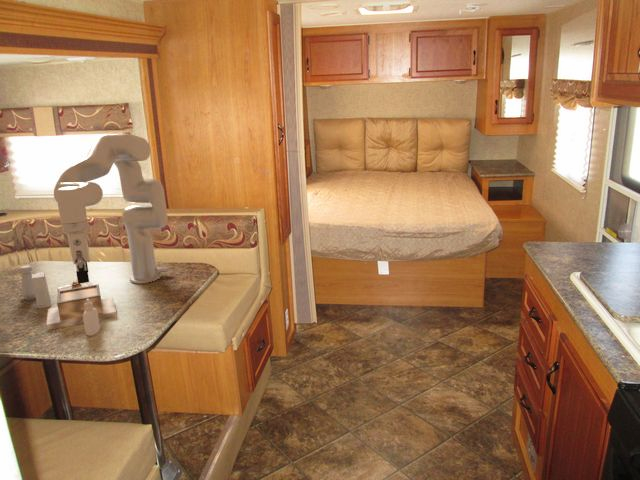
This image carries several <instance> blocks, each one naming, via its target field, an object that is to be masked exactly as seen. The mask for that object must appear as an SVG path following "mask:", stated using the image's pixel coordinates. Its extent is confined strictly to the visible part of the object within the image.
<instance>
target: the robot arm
mask: <svg viewBox="0 0 640 480" xmlns="http://www.w3.org/2000/svg"><path fill="white" fill-rule="evenodd" d="M150 155H151V146H150V144H149V142H148V141H147V139H145V138H144V137H141V136H138V135H134V134H131V133H104V134H100V135H99V136H98V137H97V138H96V140H95V141H94V143H93V145H91V148H90V150H89V152H88V153H87V155H86V157H85V158H84V159H83V160H80V161H79V162H77V163H75V164H73V165H72V166H70V167H69V168H67V169H66V170H64V171H63V173H61V175H60V176H59V178H58V180H57V182H56V183H55V185H54V186H55V187H54V190H53V198H54V200H55V202H56V203H57V208H58V213H59V218H60V225H61V230H62V231H61V232H62V234H65V235H67V241H68V245H69V246H68V247H69V251H70V256H71V259H72V263H73V264H74V265H75V267H76V272H75V273H76V278H77V279H76V280H77V281H78V283H79V284H80V283H84V284H86V282H90V278H89V267H88V266H89V265H88V263H90V262H91V255H90V248H89V243H88V238H87V237H88V236H87V231H90V229H89V222H88V215H87V208H86V207H91V206H95V205H98V204H99V203H100V202H101V200H102V199H103V189H102V187H101V186H100V184H98V183H96V182H92V181H94V180H98V179H101V178H102V177H105V176H107V175H108V174H109V173H110V171H111V169H112V167H113V165H115V166H116V168H117V170H118V174H119V175H118V176H119V180H120V188H121V193H122V196H123V199H124V201H125V202H126V203H129V204H131V203H132V204H133V205H129V206H126V207H125V208H124V209H123V210H122V215H121V218H122V221H123V225H124V227H125V231H126V236H127V241H128V249H129V254H130V255H129V256H130V261H131V262H130V264H131V269H132V270H131V271H132V274H131V275H130V276H129V282H131V283H133V284H149V282H150V283H153V282H155V280H156V281H158V280H160V279H161V277H162V273H167V272H169V268H168V267H167V266H165V267H164V266H163V265H162V266H159V267H158V265H157V264H156V257H155V248H154V239H153V236H152V234H151V232H150V231H149V230H148V229H152V230H153V229H163V228H165V227H166V226H167V224H168V210H167V203H166V195H165V189H164V186H163V184H162V182H161V181H160V180H158V179H155V178H144V177H143V172H142V166H141V165H140V163H139V162H144V161H147V160H148V159H149V157H150ZM135 204H138V205H135ZM145 204H148V205H145ZM157 279H158V280H157ZM152 281H153V282H152Z"/></svg>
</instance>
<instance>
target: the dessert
mask: <svg viewBox="0 0 640 480" xmlns="http://www.w3.org/2000/svg"><path fill="white" fill-rule="evenodd" d="M84 284H86V286H91V285H94V284H92V282H90V281H89V282H86V283H80V284H79V283H78V280H77V279H75V280H74V281H73V282H72V284H68V285H67V284H66V285H64V286H60V287H57V290H58V291H61V290H66V289H70V288H71V289H73V288H79V287H83V285H84Z"/></svg>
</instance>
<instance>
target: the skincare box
mask: <svg viewBox="0 0 640 480" xmlns="http://www.w3.org/2000/svg"><path fill="white" fill-rule="evenodd" d="M31 274H32V283H33V288H34V292H35V296H36V298H35V301H36V304H37V308H38V309H43V308H49V307H51V304H52V299H51V295H50V292H49V287H48V282H47V279H46V273H45V271H39V272H35V273H31Z"/></svg>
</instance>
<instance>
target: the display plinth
mask: <svg viewBox="0 0 640 480" xmlns="http://www.w3.org/2000/svg"><path fill="white" fill-rule="evenodd" d="M87 299H89V301H90V302H92V303H93V308H96V309H97V312H98V317H99V321H103V320H107V319H112V318H116V317H117V316H118V315H117V311H116V305H115V300H114V297H108V298H103V299H102V296H101V291H100V284H98V283H97V284H93V285H91V286H88V285H85V286H82V287H79V288H73V289H72V288H66V289H62V290H61V291H59V290H58V291H57V298H56V301H57V302H56V304H57V306H56V307H52V308H48V309H47V317H46V327H47V328H46V329H47V331H50V330H54V329H59V328H65V327H70V326H76V325H80V324H84V321H83V313H84V311H85V305H84V304H85V303H86V301H87Z"/></svg>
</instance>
